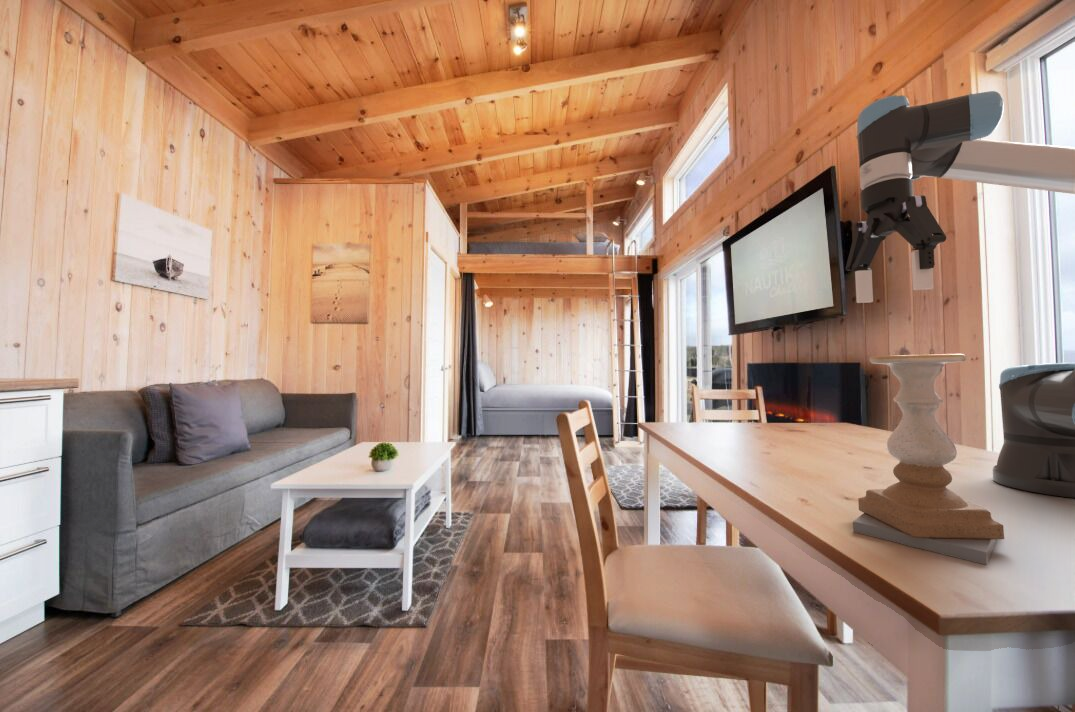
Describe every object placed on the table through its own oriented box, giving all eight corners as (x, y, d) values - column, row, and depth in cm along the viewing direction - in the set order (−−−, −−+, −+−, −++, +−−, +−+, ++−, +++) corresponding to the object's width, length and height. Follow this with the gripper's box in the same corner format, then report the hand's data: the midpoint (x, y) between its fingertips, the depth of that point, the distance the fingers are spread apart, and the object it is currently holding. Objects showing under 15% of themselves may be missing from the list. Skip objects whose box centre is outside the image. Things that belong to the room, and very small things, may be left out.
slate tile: (879, 511, 67) (878, 502, 67) (998, 535, 56) (997, 524, 56) (853, 531, 59) (852, 521, 59) (986, 564, 48) (985, 552, 48)
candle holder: (856, 509, 64) (849, 357, 64) (932, 510, 62) (923, 355, 63) (914, 538, 53) (904, 355, 53) (1007, 540, 52) (995, 352, 52)
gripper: (823, 211, 89) (827, 307, 89) (921, 150, 64) (929, 283, 64) (859, 209, 89) (863, 306, 88) (972, 147, 64) (980, 281, 63)
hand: (891, 296), depth 76 cm, fingers open, 13 cm apart
